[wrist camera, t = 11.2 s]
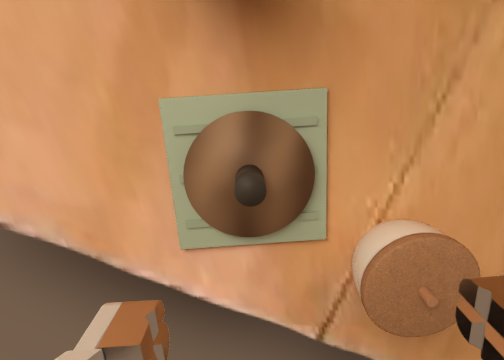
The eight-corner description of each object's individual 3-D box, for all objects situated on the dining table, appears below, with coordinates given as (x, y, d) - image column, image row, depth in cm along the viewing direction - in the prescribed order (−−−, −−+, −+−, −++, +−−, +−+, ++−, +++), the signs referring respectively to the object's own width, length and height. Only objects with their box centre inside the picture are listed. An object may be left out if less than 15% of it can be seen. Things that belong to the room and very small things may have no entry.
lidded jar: (346, 296, 38) (377, 362, 29) (332, 216, 35) (363, 263, 26) (435, 277, 38) (495, 338, 29) (429, 194, 34) (495, 234, 25)
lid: (312, 106, 30) (325, 110, 26) (313, 229, 34) (324, 252, 30) (176, 115, 30) (164, 121, 26) (192, 238, 34) (185, 262, 30)
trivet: (325, 87, 31) (328, 87, 30) (324, 236, 35) (326, 240, 35) (160, 98, 31) (157, 99, 30) (181, 246, 35) (179, 250, 34)
